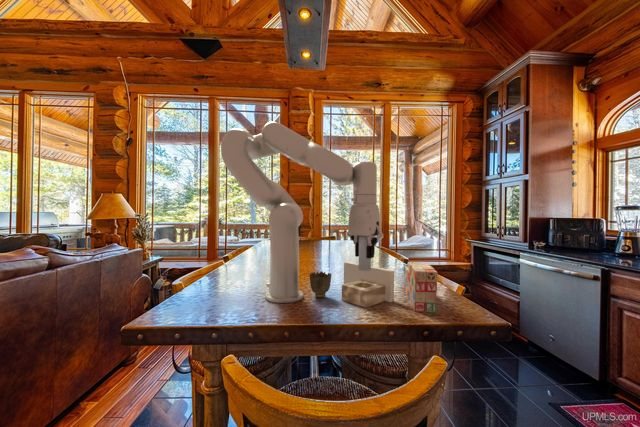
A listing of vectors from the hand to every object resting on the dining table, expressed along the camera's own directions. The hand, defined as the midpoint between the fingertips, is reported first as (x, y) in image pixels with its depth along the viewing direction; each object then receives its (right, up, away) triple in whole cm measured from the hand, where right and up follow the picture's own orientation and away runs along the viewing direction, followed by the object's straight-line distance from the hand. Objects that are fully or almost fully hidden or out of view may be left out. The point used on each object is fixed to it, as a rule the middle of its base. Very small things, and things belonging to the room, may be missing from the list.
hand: (364, 256), depth 94 cm
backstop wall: (+2, -14, +7) cm, 16 cm away
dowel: (0, -4, 0) cm, 4 cm away
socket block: (0, -14, 0) cm, 14 cm away
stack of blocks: (+18, -15, +1) cm, 23 cm away
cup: (-14, -14, +3) cm, 21 cm away
